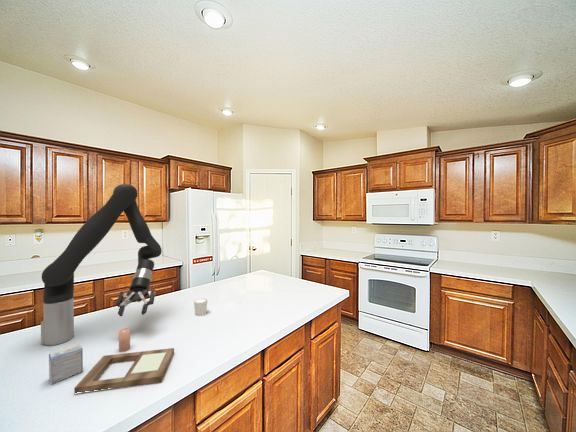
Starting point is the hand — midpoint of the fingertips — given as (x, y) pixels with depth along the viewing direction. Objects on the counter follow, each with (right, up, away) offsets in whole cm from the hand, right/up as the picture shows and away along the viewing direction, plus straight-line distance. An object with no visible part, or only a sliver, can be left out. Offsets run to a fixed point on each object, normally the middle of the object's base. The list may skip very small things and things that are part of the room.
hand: (131, 314), depth 101 cm
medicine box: (-8, -12, -22) cm, 26 cm away
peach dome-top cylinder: (+1, -11, -6) cm, 13 cm away
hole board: (+12, -11, -19) cm, 25 cm away
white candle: (+20, -11, +26) cm, 35 cm away
